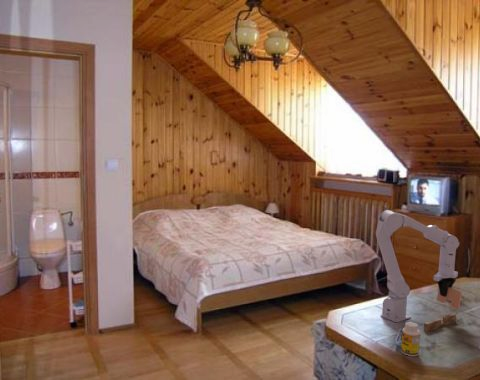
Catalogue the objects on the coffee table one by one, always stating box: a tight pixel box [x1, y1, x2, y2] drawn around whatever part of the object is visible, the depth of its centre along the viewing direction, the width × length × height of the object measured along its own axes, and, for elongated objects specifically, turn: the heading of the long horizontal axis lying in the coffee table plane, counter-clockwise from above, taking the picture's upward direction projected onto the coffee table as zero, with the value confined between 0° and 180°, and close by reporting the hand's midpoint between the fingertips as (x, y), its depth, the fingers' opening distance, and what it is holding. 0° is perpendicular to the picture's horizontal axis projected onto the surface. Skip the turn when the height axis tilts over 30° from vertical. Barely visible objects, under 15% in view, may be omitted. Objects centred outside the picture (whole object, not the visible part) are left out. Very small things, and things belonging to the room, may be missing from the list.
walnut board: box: [423, 312, 457, 333], centre depth 172 cm, size 20×1×3 cm, turn 124°
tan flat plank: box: [436, 287, 463, 310], centre depth 178 cm, size 9×1×7 cm, turn 34°
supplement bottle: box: [400, 321, 421, 357], centre depth 148 cm, size 6×6×10 cm
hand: (444, 295), depth 180 cm, fingers closed on tan flat plank, 1 cm apart
